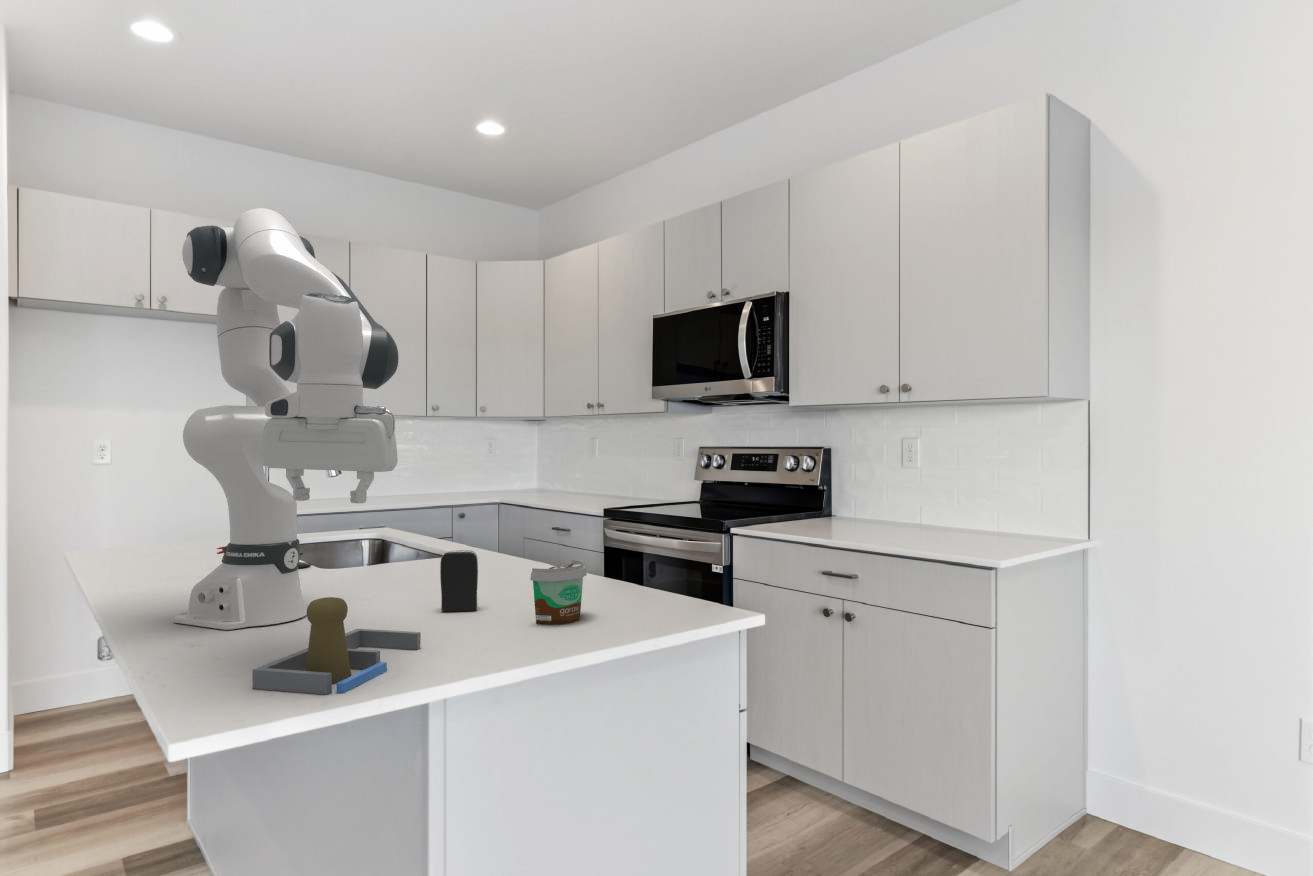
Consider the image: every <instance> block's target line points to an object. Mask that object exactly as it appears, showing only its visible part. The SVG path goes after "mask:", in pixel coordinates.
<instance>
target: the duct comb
mask: <svg viewBox="0 0 1313 876" xmlns="http://www.w3.org/2000/svg"><path fill="white" fill-rule="evenodd" d="M345 636H346V643H347V650H348V656H349V663H350V669H353V670H354V669H358V670H361V671H358V672H356V673H355V674H353V675H352V674H351V676H350V677H348V678H346V679H344V680H342V681H340V682H338V683H336V685H335V686H336V692H335V693H338V694H344V693H346V692H348V691H350V690H352V689H354V688H356V687H357V686H360V685H362V684H364V683H366V682H368V681H369V680H372V679H374V678H375V677H379V675H381V674H383V673H386V672H387V671H388V662H386V661H385V662H384V661H381V650H377V649H375V650H374V649H359V647H365V648H366V647H369V648H383V649H399V650H414V651H417V650H420V649H421V631H404V630H386V629H385V630H384V629H372V628H356V629H353V630H350V631H347V632H345ZM307 653H308V647H307V648H305V649H302V650H301V649H300V651H297V652H294V653H291V654H289V655H287V656H284V657H282V658H279V659H275V660H274V661H271V662H268V663H267V664H263V665H260V666H258V667H256V668H253V669H251V671H252V672H251V673H252V689H253V690H263V691H264V690H267V691H275V692H276V691H278V692H290V693H291V692H292V693H301V694H302V693H303V694H312V695H313V694H315V695H328V694H332V692H333V690H332V689H333V688H332V687H333V686H332V685H333V684H332V673H326V672H312V671H305V668H306V661H307Z"/></svg>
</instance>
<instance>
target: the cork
mask: <svg viewBox="0 0 1313 876" xmlns="http://www.w3.org/2000/svg"><path fill="white" fill-rule="evenodd" d="M348 608H349V607H348V603H347V602H346V601H345V599H343V598H341V597H331V596H328V597H322V598H318V599H314V600H312V601H310V603H309V605H308V606H307V609H306V611H307V615H306V618H307V620H308V622H310V630H309V631H310V632H309V639H308V646H307V648H308V653H307V661H306V668H305V670H304V671H312V672H326V673H332V685H335V684H336V683H338V682H340V681H342V680H344V679H346V678H348V677H350V676H352V672H351V668H350V663H349V656H348V650H347V643H346V636H345V633H346V631H345V629H346V628H345V624H344V621H345V619H346V618H347V615H348V612H349V611H348Z"/></svg>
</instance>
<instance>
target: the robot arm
mask: <svg viewBox="0 0 1313 876" xmlns="http://www.w3.org/2000/svg"><path fill="white" fill-rule="evenodd" d="M314 249H315V248H314V247H313V245H312V244H311V242H310V241H309V240H308V239H307V238H305V237H303V236H300V235H299V234H298V232H297V231H296V230H295V228H294V227H293V225H292V224H291V223H290V222H289V221H288V220H287V219H286V217H284V216H283V215H282V214H280V213H279V212H277V211H276V210H273V209H270V208H266V207H256V208H251V209H249V210H246V211H244V212H243V213H242V214H241V215H239V217H238V218H237V219H236V220H235V222H234V226H233V227H230V226H228V227H227V226H226V227H223V226H218V225H202V226H196V227H194V228H193V229H191V230H190V231H188V232H187V234H186V238H185V240H184V242H183V244H182V250H181V251H182V252H181V254H182V256H181V257H182V261H183V264H184V267H185V269H186V272H187V274H188V276H189V277H190V279H192V280H193V281H194V282H195V283H199V284H202V285H205V286H206V285H207V286H210V287H215V285H216V286H220V287H224V288H223V289H222V290H221V292H220V293H219V295H218V298H217V305H216V306H217V307H216V335H217V346H218V353H219V355H218V356H219V360H220V361H219V363H220V372H221V376H222V377H223V380H224V381H225V382H226V384H228V385H229V387H230V388H232V389H233V390H235V391H237V392H240V393H242V394H244V395H245V396H247V397H248V398H249V399H250V400H251V401H253V402H254V404H255V405H231V404H230V405H227V404H225V405H218V406H212V407H206V408H200V409H196V410H195V411H194V412H193V413H191V415H190V416H189V417H188V419H187V420H186V422H185V424H184V427H183V430H182V431H183V432H182V441H183V445H184V448H185V450H186V452H187V454H188V455H189V457H190V458H191V459H192V460H194V462H196V463H197V464H199V465H201V466H202V467H203V468H205V469H206V470H207V471H208V472H209V473H210V474H212V476H213V477H214V478H215V479H216V481H217V482H218V483H219V484H220V485H219V486H221V488H222V490H223V493H224V495H225V499H226V502H227V510H228V518H229V519H228V520H229V521H228V522H229V542H228V543H227V545H226V546H220V547H217V548H216V550H220V551H217V552H216V554H217V555H223V556H222V559H221V563H220V564H219V565H218V566H217V567H215V568H214V570H212V571H211V572H210V573H209V574H207V575H206V576H205V577H204V578H203V579H200V581H198V582H197V583H196V584H195V585H194V586H193V588H192V589H191V592H190V595H189V601H188V610H186V611H184V612H180V613H178V614H177V615H175V616H174V617H173V623H176V624H182V625H188V626H189V625H190V626H197V627H202V628H203V627H204V628H211V629H219V630H227V631H228V630H235V629H236V630H237V629H242V628H249V627H250V628H251V627H259V626H270V625H277V624H281V623H287V622H291V621H295V620H298V619H300V618H303V617H305V616H307V609H306V606H305V601H304V597H303V593H302V592H303V591H302V588H301V581H300V575H299V565H300V559H301V555H300V554H301V550H300V549H301V548H300V547H301V546H300V539H298V508H297V506H298V503H297V501H299V502H300V501H301V502H302V501H303V502H304V501H309V500H310V498H311V496H310V495H311V494H310V492H311V489H310V487H306V486H305V483H304V481H303V478H302V476H303V477H304V476H305V475H304V474H305V470H313V471H315V470H318V471H319V470H320V471H341V472H342V471H343V472H350V471H351V472H356V479H357V480H359V481H358V484H357V486H356V488H355V490H350V492H349V494H350V495H349V496H350V499H349V501H350V503H351V504H364V503H366V502H367V497H368V496H367V495H368V494H367V491H368V490H369V488H370V486H371V484H372V483H373V481H374V479H375V473H384V472H385V473H387V472H392V471H394V470H395V468H396V466H397V465H398V457H399V456H398V445H397V439H396V434H395V432H396V418H395V415H394V414H393V412H391V411H390V410H388V409H387V408H386V407H385V406H379V405H378V406H368V405H367V406H365V405H364V402H363V401H364V389H371V390H377V389H379V388H380V387H383V385H385V383H387V382H388V381H390V379H392V378H393V376H394V375H395V374H396V372H397V370H398V367H399V349H398V346H397V343H396V341H395V340H394V338H393V336H392V335H391V334H390V333H389V332H388V330H387V329H386V328H385V327H384V326H383V325H381V324H379V323H377V322H376V321H375V319H374V318H373V317H372V316H371V314H370V313H369V312H368V310H367V309H366V308H365V306H364V305H363V304H362V303H361V301H360V299H358V297H357V296H356V295H355V293H354V292H353V291H352V290H351V288H350V287H349V286H348V285H347V284H346V282H345V281H344V280H343V279H342V278H341V277H340V276H339V275H337V274H335V273H334V272H333V271H331V270H330V269H328V268H327V267H326V266H325V265H323V264H322V263H321V262H319V261H318V260H317V258H316V255H315V250H314ZM278 306H283V307H287V308H292V309H295V310H296V309H297V310H298V313H296V315H295V316H294V317H293V318H292V319H290V320H289V321H287V320H285V321H283V322H282V323H281V321H280V316H279V312H278ZM265 466H266V467H267V468H268V469H284V470H285V477H286V479H287V481H288V483H289V484H290V488H291V489H292V493H291V492H290V491H288V489H286V488H283V487H282V486H280V485H277V484H275V483H272V482H270V481H269V480H268V478H267V476H266V473H265Z"/></svg>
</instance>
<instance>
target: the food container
mask: <svg viewBox="0 0 1313 876" xmlns="http://www.w3.org/2000/svg"><path fill="white" fill-rule="evenodd" d="M587 575H588V573H587V569H586V566H585V563H584V561H581V560H577V559H571V564H568V565H564V566H559V565H557V566H551V567H549V568H534V567H532V568H531V573H530V579H529V580H530V581H532V589H533V600H534V612H535V624H536V625H540V626H541V625H544V626H546V625H547V626H560V625H568V624H574V623H575V622H578V621H580V619H581V612H582V611H581V609H582V598H583V597H582V596H583V584H584V583H583V581H584V577H586V576H587Z"/></svg>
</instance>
